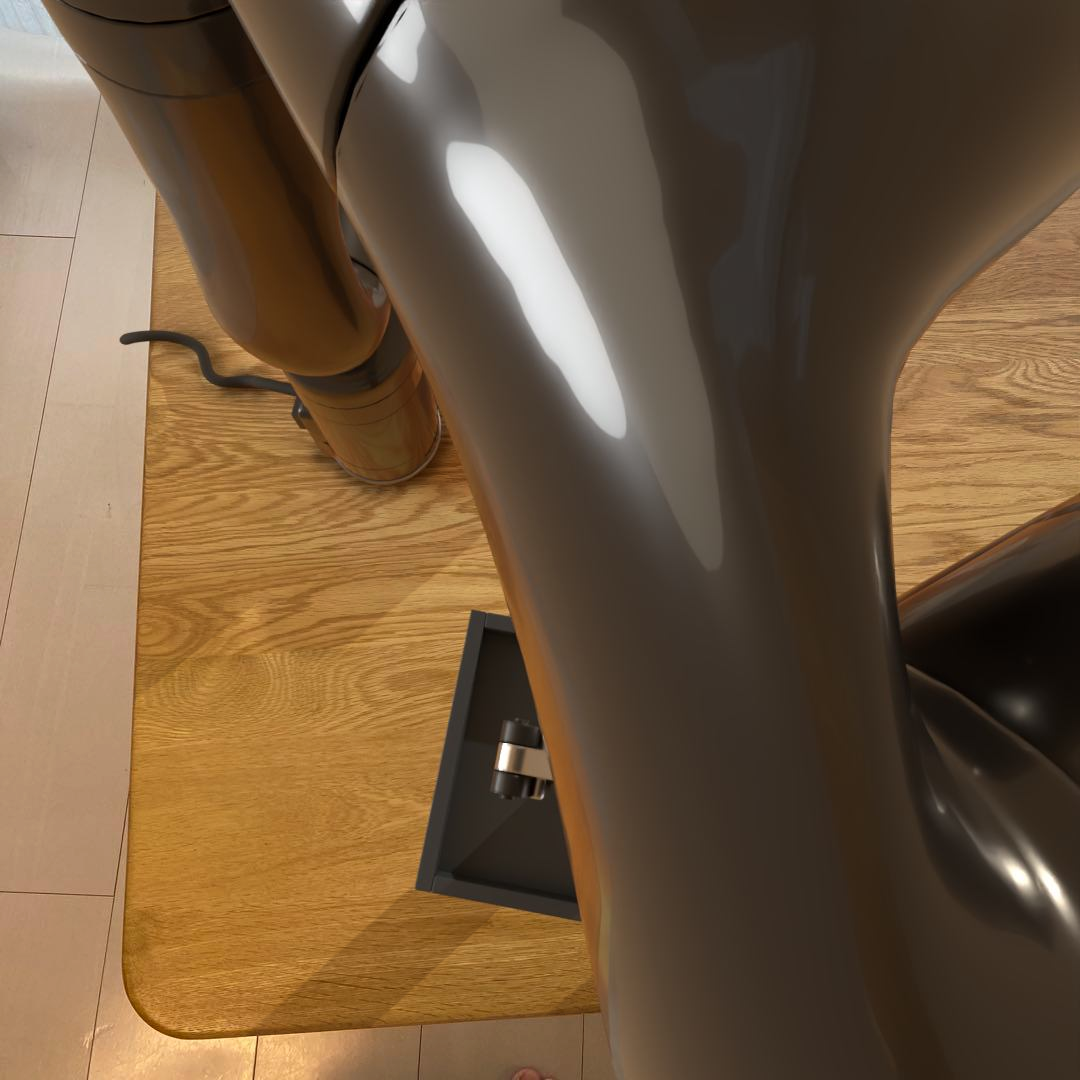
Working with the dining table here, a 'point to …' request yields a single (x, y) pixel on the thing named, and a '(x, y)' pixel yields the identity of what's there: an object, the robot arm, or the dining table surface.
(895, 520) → the dining table surface
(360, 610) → the dining table surface
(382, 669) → the dining table surface
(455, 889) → the tray
